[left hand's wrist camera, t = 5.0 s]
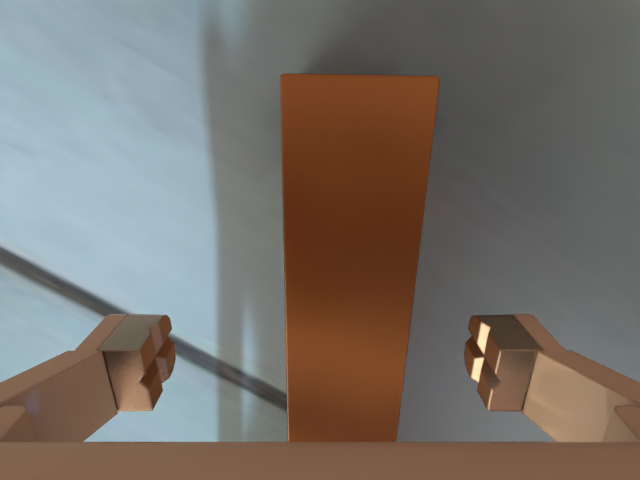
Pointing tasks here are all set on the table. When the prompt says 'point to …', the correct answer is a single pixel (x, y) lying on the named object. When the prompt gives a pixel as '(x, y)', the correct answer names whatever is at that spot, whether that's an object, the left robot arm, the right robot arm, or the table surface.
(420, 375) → the table surface
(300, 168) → the bar
